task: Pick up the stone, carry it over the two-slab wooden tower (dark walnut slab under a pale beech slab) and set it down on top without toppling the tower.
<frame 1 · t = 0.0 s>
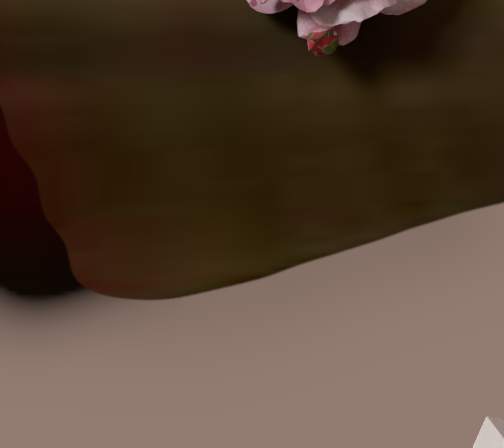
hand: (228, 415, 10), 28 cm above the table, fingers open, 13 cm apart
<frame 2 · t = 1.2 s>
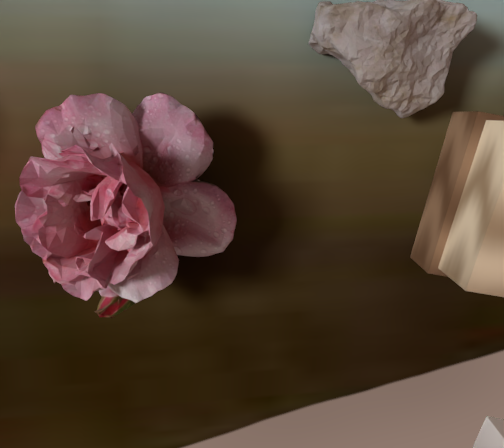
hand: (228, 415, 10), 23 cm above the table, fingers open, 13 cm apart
stone: (372, 50, 30), on the table
flower: (141, 189, 32), on the table
tower base: (497, 199, 33), on the table, touching tower top
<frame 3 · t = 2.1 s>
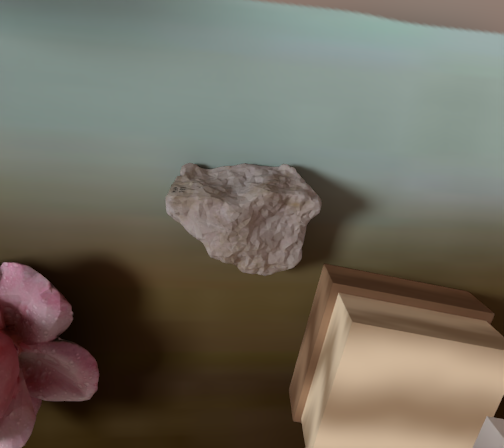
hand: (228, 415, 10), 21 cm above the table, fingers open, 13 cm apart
stone: (242, 203, 30), on the table
flower: (22, 322, 33), on the table
tower top: (389, 371, 30), point 4 cm above the table, touching tower base
tower base: (373, 339, 34), on the table, touching tower top
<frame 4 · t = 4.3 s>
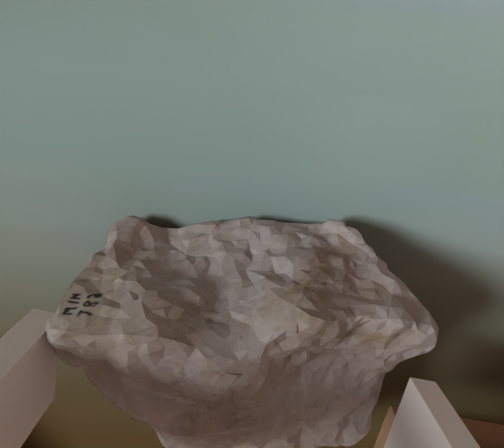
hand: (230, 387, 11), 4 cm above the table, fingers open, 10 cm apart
stone: (244, 291, 15), on the table, touching gripper
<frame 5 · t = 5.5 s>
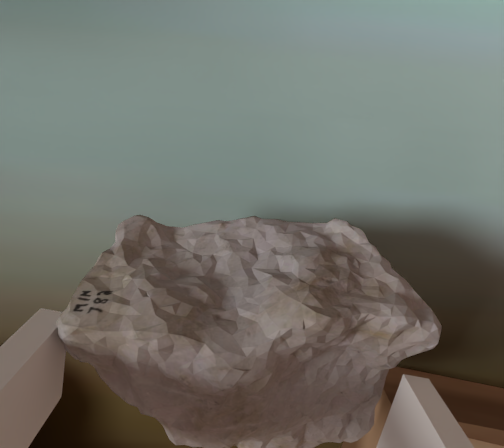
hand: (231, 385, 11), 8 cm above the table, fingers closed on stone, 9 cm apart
stone: (248, 289, 15), point 4 cm above the table, touching gripper
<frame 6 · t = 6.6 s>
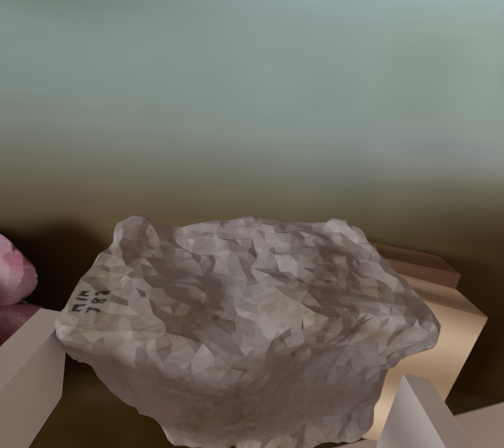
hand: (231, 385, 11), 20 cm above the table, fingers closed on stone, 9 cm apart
stone: (247, 289, 15), point 16 cm above the table, touching gripper
tower top: (358, 335, 30), point 4 cm above the table, touching tower base
tower base: (344, 304, 34), on the table, touching tower top
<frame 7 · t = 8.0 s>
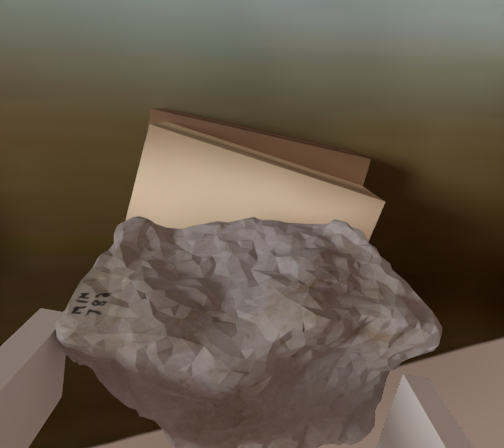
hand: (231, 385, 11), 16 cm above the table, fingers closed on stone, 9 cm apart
stone: (248, 290, 15), point 11 cm above the table, touching gripper
tower top: (236, 246, 23), point 4 cm above the table, touching tower base
tower base: (240, 220, 27), on the table, touching tower top
when the fingers open (12 cm above the table, at t = 9.0 s): stone moves 2 cm, resting on tower top.
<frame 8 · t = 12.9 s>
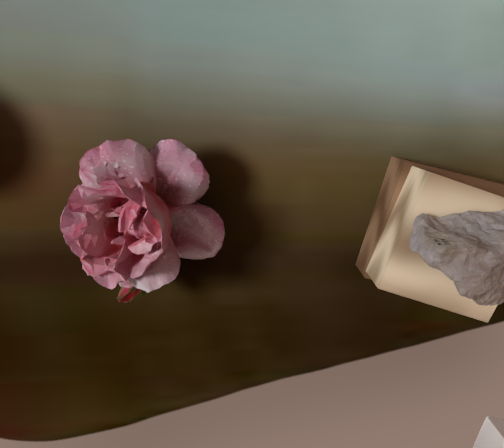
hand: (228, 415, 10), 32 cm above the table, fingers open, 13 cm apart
stone: (459, 243, 35), point 7 cm above the table, touching tower top
flower: (152, 205, 41), on the table
tower top: (440, 237, 39), point 4 cm above the table, touching stone, tower base
tower base: (425, 223, 42), on the table, touching tower top
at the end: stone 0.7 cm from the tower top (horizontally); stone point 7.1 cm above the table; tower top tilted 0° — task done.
